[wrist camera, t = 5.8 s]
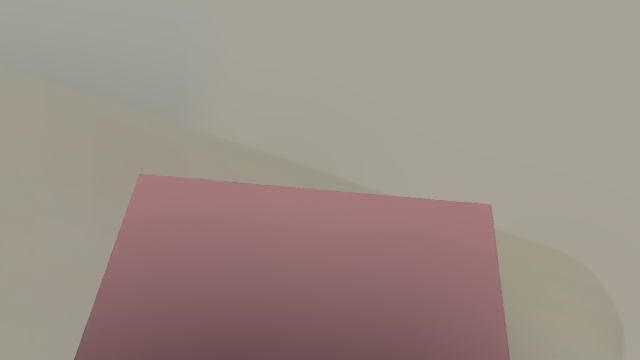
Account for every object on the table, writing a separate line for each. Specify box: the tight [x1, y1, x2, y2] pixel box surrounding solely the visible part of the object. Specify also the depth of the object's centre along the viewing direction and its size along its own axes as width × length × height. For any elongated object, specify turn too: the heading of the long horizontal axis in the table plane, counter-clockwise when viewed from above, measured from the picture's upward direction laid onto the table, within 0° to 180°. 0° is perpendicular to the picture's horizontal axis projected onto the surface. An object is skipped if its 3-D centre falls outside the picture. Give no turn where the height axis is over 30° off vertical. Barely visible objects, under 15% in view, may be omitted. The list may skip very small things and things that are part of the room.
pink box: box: [74, 174, 510, 360], centre depth 9 cm, size 5×4×12 cm
